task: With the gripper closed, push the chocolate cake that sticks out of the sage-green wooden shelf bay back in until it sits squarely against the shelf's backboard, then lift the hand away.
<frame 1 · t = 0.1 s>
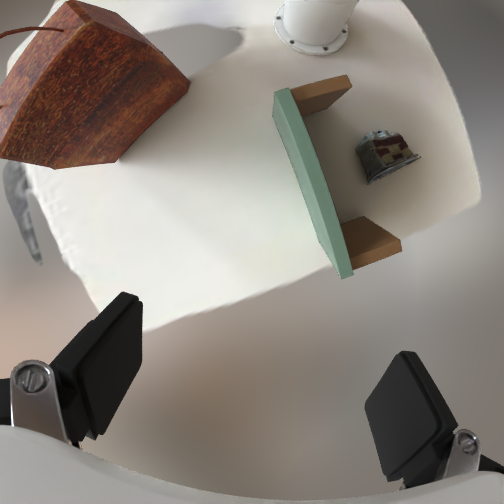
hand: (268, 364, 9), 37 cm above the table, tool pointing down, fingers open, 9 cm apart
handbag: (136, 105, 40), on the table
cubby shelf: (324, 169, 42), on the table
chocolate cake: (382, 151, 40), on the table
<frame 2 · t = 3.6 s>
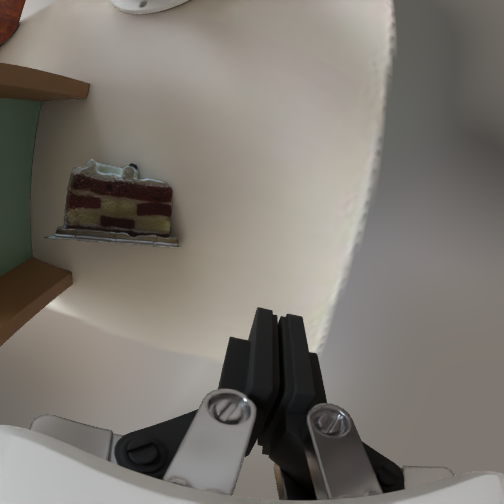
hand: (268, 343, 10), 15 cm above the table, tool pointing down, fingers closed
cubby shelf: (47, 185, 23), on the table
chocolate cake: (128, 200, 24), on the table
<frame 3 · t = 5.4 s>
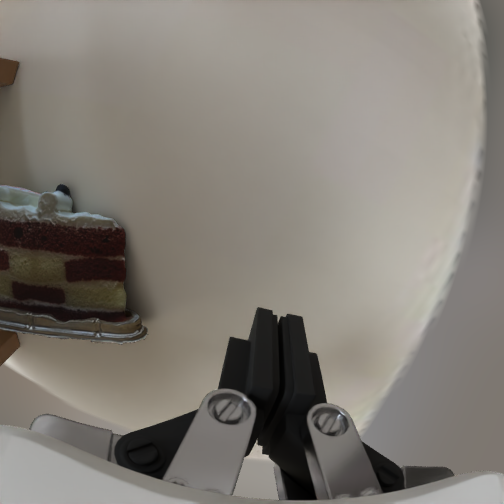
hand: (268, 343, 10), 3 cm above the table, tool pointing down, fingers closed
chocolate cake: (64, 244, 13), on the table
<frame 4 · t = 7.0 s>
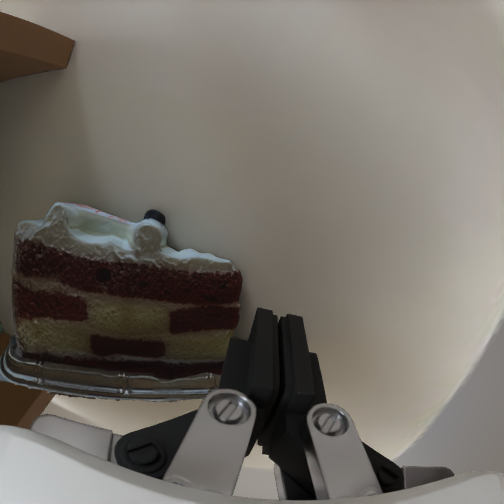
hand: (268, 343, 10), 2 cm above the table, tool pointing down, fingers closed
cubby shelf: (5, 229, 12), on the table
chocolate cake: (143, 278, 12), on the table, touching gripper
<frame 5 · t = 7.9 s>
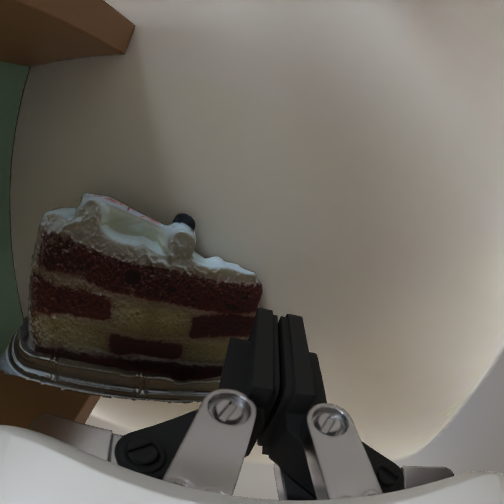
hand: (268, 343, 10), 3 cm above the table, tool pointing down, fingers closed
cubby shelf: (39, 231, 12), on the table
chocolate cake: (161, 277, 12), on the table, touching gripper
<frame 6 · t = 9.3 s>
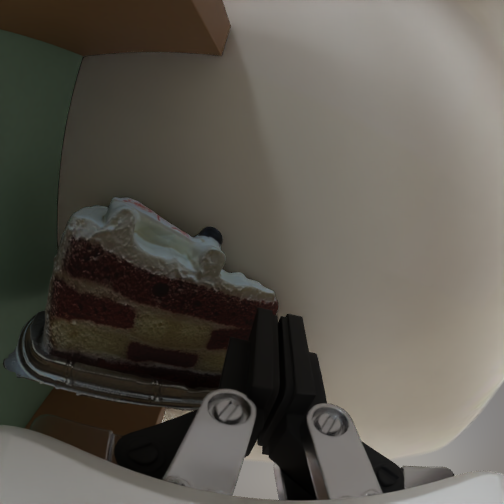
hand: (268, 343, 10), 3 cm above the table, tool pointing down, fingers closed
cubby shelf: (102, 248, 12), on the table
chocolate cake: (179, 284, 13), on the table, touching gripper
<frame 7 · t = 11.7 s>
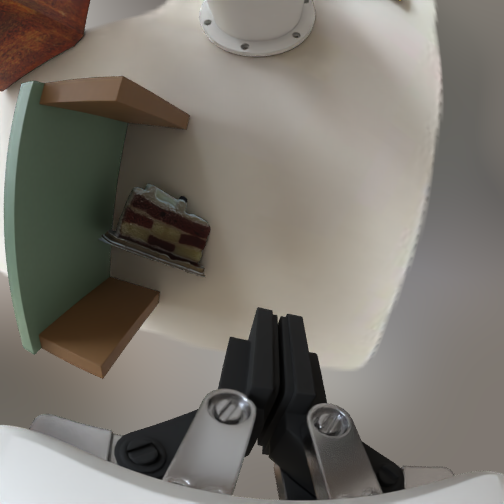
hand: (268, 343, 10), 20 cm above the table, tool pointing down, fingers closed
handbag: (43, 42, 22), on the table
cubby shelf: (137, 208, 29), on the table
chocolate cake: (170, 222, 29), on the table
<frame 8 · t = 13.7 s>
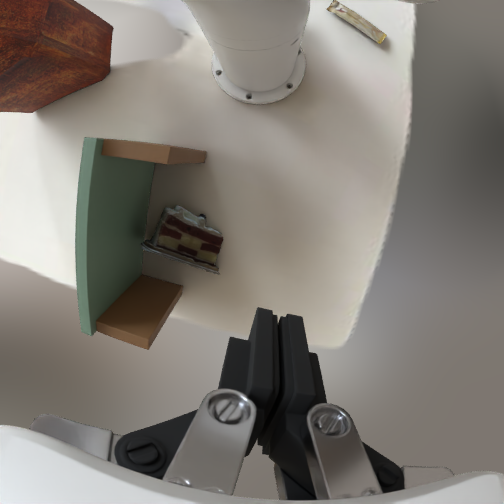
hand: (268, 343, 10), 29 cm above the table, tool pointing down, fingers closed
handbag: (69, 70, 31), on the table
snack bar: (355, 23, 28), on the table
cubby shelf: (166, 222, 39), on the table
chocolate cake: (192, 233, 39), on the table
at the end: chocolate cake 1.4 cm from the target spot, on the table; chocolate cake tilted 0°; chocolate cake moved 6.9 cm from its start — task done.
